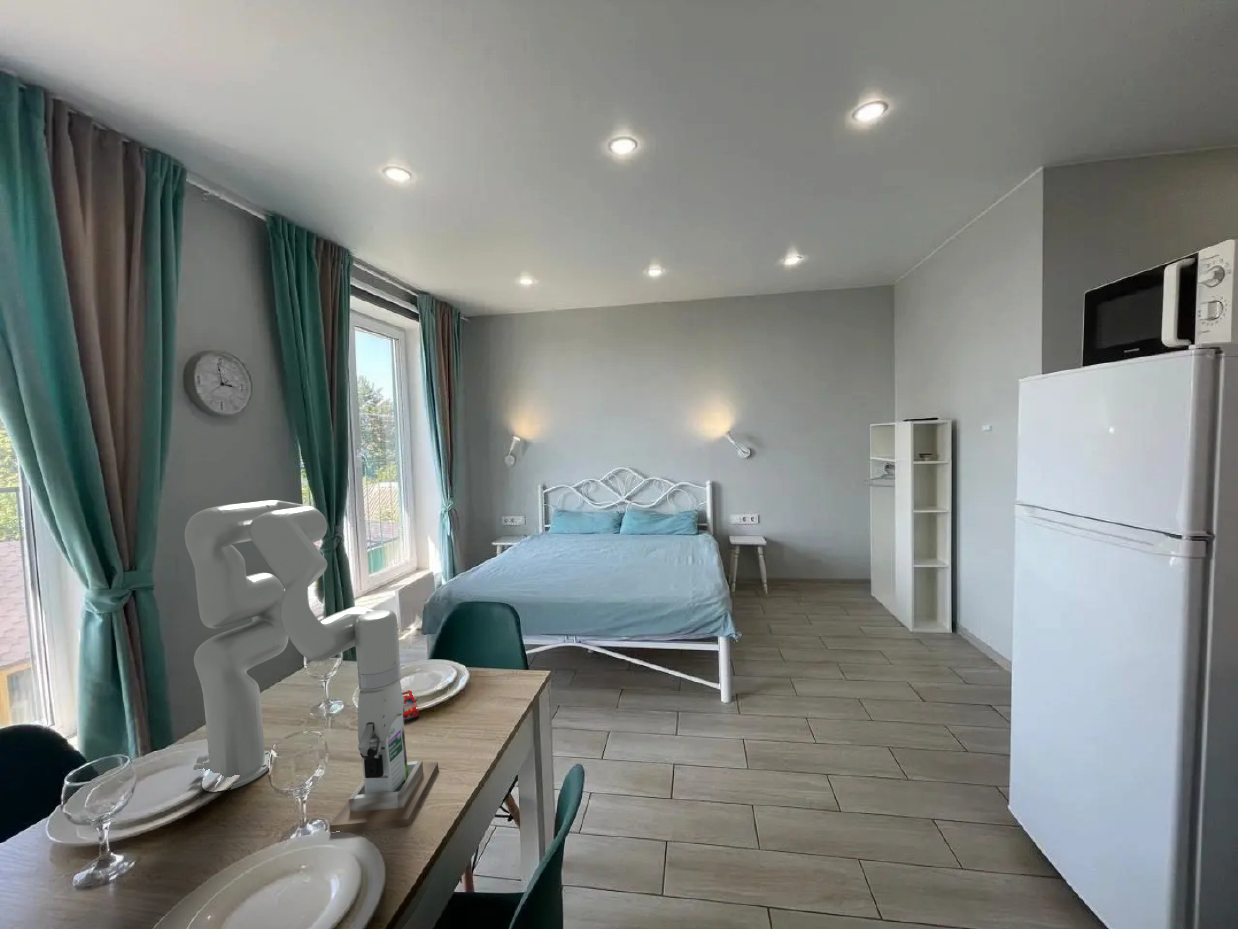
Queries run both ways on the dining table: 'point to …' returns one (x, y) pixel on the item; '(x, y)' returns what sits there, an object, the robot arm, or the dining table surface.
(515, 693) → the dining table surface
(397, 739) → the syrup box
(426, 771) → the socket board
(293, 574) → the robot arm
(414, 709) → the race car
